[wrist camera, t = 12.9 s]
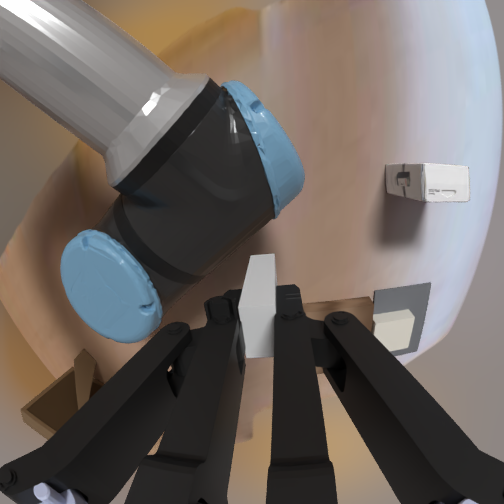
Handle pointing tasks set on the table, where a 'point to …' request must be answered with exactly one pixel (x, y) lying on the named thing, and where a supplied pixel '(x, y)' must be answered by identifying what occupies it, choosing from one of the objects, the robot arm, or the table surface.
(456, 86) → the table surface
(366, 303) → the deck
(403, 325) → the cream rectangular block
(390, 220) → the table surface
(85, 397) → the photo frame
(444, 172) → the ink box
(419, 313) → the mat
